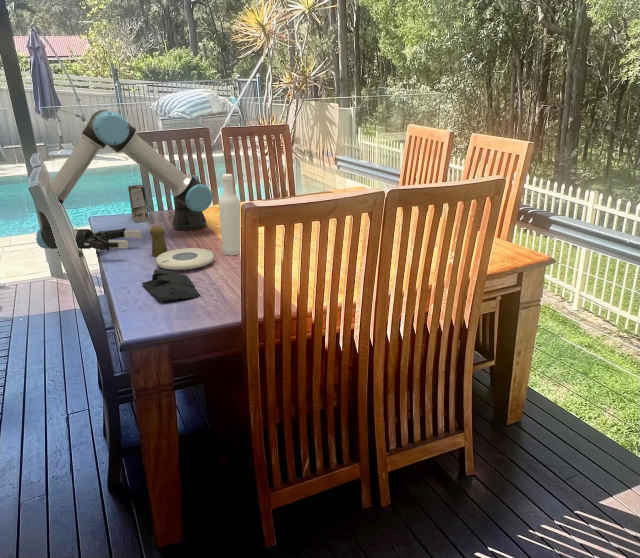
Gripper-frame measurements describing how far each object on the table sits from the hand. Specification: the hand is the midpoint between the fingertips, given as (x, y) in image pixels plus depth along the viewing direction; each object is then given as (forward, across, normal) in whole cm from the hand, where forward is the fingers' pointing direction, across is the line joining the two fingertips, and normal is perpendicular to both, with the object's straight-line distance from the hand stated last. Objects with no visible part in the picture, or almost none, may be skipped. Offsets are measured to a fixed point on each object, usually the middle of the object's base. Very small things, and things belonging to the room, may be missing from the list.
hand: (134, 239), depth 199 cm
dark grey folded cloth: (+25, +35, -7) cm, 44 cm away
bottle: (+37, -3, -6) cm, 37 cm away
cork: (+9, 0, -6) cm, 11 cm away
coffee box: (-18, -53, -6) cm, 56 cm away
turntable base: (+22, +11, -6) cm, 25 cm away
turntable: (+22, +11, -5) cm, 25 cm away
